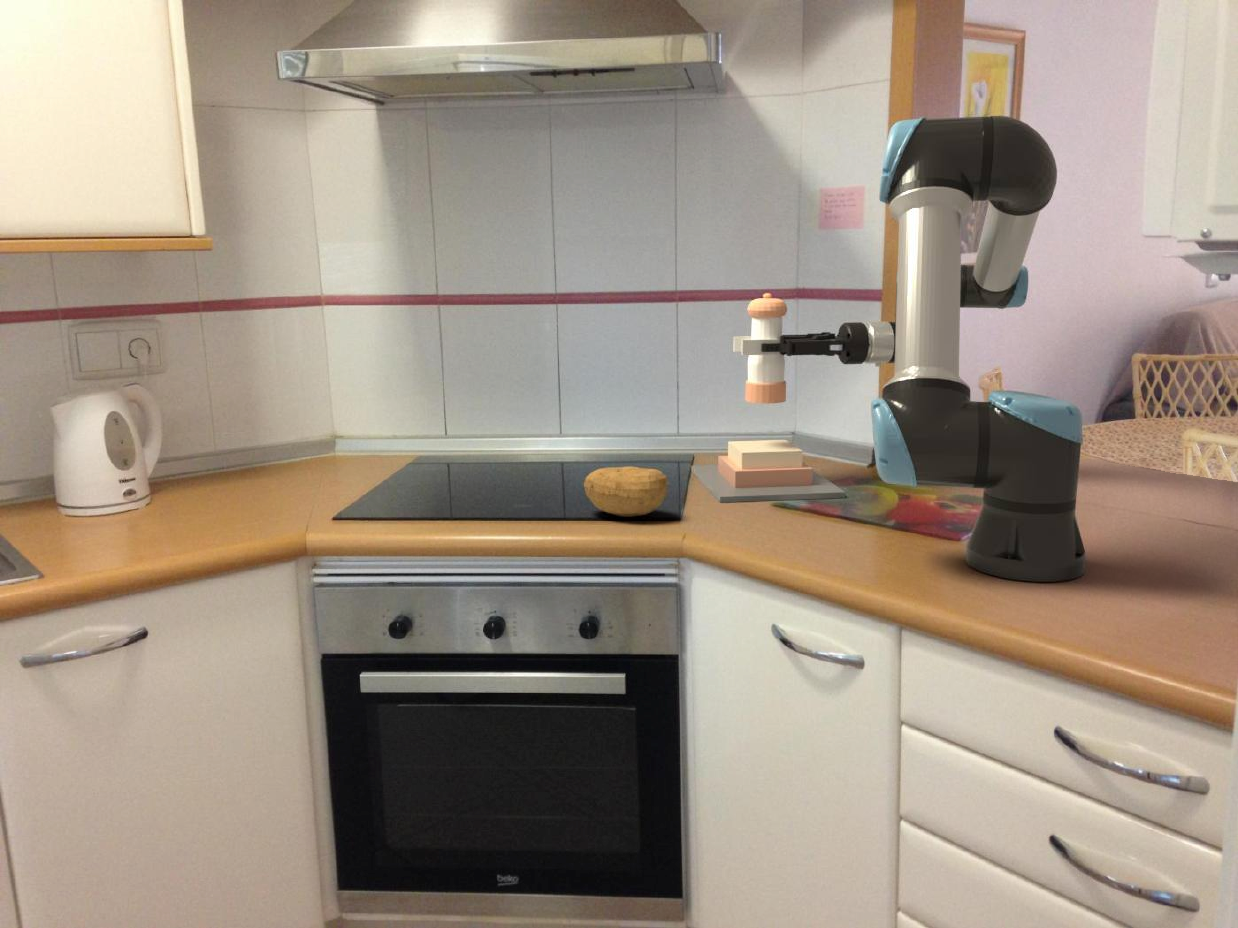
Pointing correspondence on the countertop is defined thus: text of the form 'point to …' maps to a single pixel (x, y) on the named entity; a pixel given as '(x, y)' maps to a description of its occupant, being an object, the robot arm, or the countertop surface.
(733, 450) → the stacked blocks on tray
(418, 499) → the countertop surface
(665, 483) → the potato
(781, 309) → the pepper shaker
